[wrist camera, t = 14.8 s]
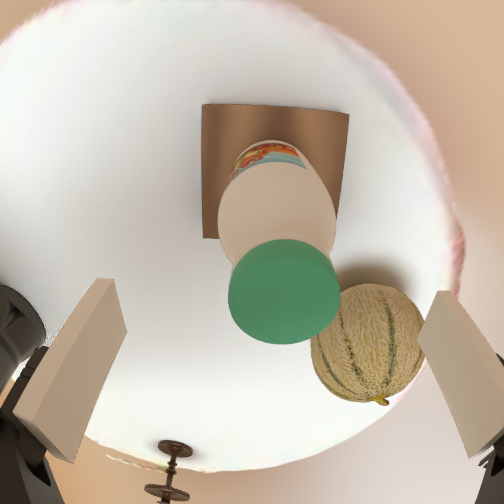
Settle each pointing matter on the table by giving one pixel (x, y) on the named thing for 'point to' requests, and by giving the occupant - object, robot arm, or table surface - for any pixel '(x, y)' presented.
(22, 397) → the robot arm
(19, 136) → the table surface
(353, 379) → the cantaloupe
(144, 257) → the table surface
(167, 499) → the candlestick
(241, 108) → the block
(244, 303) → the milk bottle
